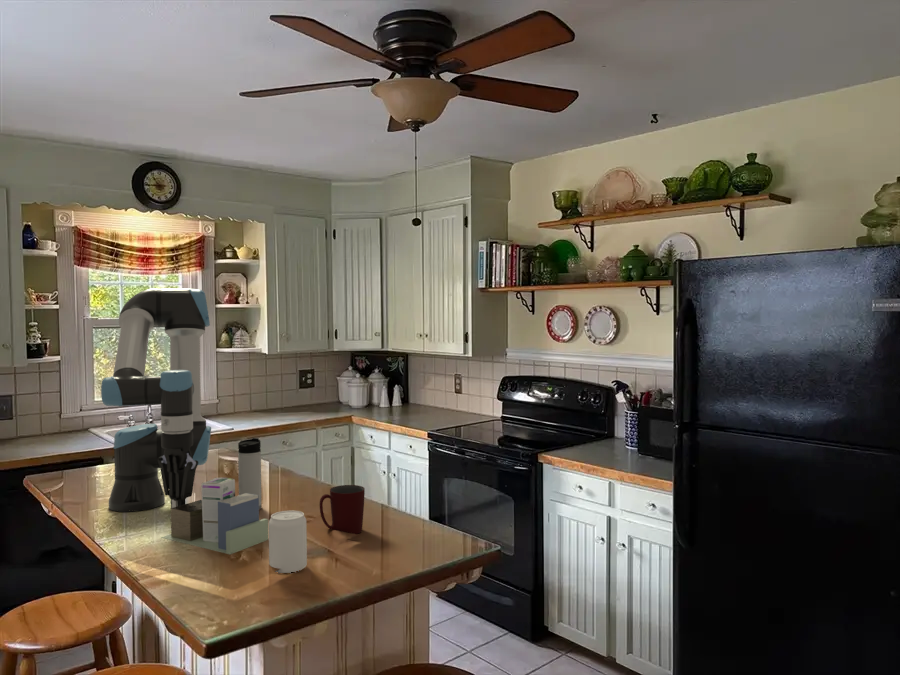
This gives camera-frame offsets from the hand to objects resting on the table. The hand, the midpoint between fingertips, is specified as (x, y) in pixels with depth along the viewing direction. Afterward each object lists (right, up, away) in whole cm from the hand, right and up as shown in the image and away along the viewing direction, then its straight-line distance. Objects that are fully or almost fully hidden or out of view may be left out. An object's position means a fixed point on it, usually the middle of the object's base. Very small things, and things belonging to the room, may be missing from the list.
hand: (178, 524), depth 178 cm
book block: (+18, -2, -11) cm, 21 cm away
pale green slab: (+11, -3, -6) cm, 13 cm away
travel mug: (+11, -2, +25) cm, 28 cm away
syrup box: (+13, -2, -7) cm, 14 cm away
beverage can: (+33, -4, -22) cm, 40 cm away
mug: (+41, -3, +3) cm, 41 cm away
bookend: (+5, -2, -3) cm, 6 cm away
